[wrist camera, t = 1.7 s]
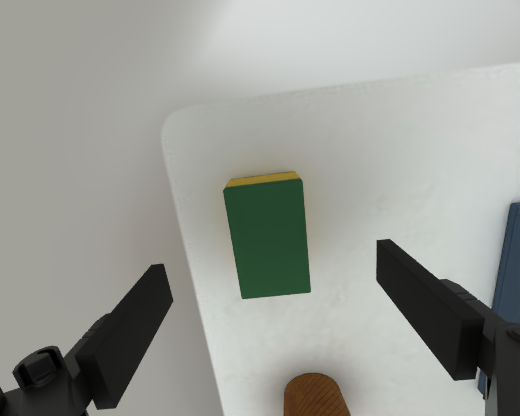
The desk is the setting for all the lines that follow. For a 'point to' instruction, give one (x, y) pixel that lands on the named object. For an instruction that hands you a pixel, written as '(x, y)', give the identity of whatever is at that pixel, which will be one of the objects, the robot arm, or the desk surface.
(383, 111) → the desk surface
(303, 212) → the sponge
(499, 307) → the tray
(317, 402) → the disposable coffee cup
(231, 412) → the desk surface
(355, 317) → the desk surface
